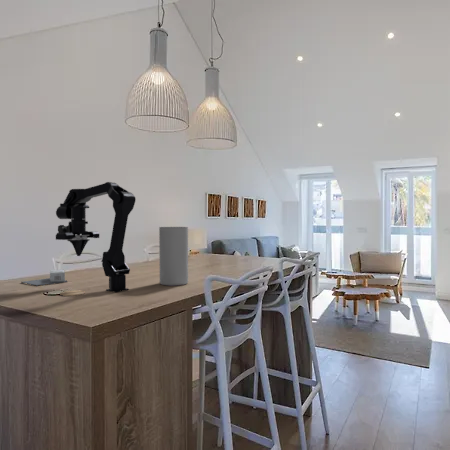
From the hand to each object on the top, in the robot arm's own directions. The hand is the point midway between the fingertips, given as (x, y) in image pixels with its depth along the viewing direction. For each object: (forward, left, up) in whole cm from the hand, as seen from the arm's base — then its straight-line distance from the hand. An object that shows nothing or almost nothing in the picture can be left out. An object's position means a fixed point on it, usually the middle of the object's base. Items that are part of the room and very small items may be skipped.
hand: (78, 255), depth 157 cm
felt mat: (+22, +3, -13) cm, 26 cm away
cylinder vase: (-28, -28, -13) cm, 42 cm away
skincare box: (+15, +1, -10) cm, 18 cm away
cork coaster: (-12, +11, -13) cm, 21 cm away
